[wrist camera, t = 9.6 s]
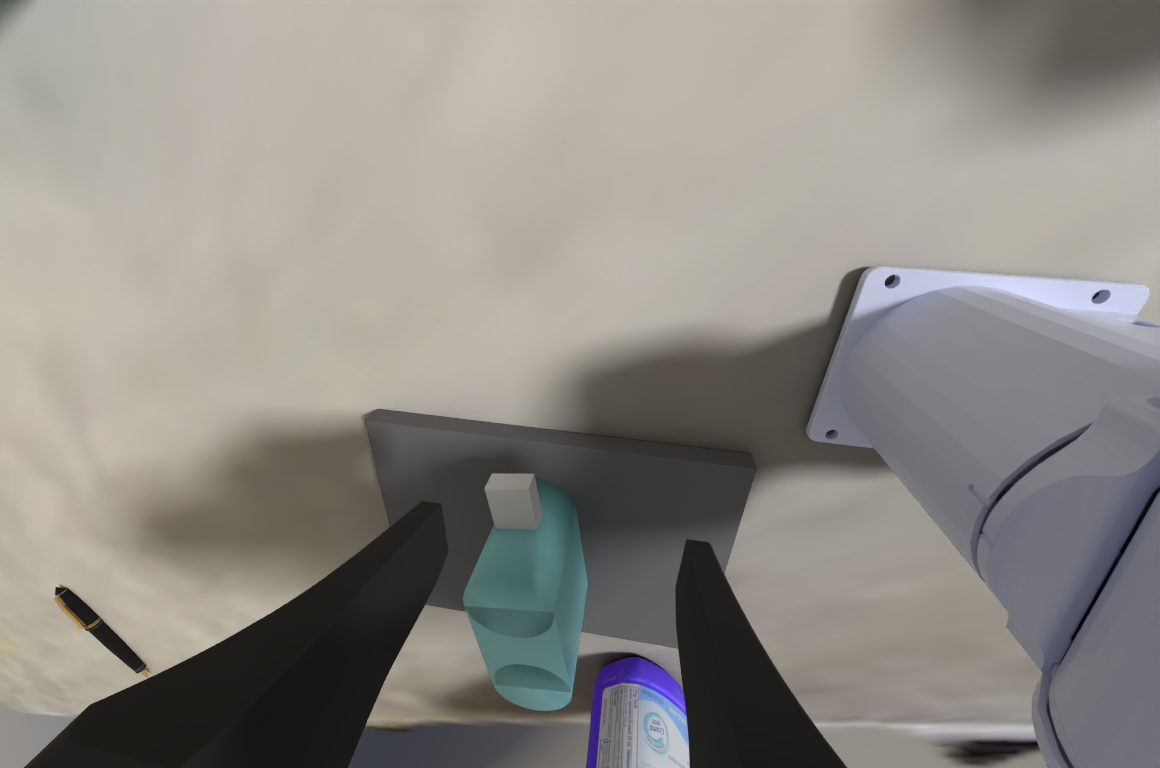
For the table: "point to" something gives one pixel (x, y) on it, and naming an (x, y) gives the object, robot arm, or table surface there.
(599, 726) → the bottle
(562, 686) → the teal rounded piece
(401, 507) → the rubber mat
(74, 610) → the fountain pen
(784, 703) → the robot arm
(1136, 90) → the table surface
